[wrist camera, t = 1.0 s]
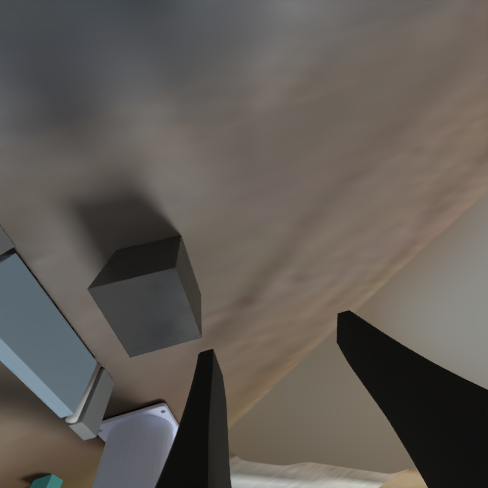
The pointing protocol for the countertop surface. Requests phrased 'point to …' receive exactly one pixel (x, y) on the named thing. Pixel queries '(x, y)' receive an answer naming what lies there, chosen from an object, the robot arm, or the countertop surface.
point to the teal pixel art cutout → (47, 482)
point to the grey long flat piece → (95, 393)
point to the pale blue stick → (40, 341)
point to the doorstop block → (150, 296)
